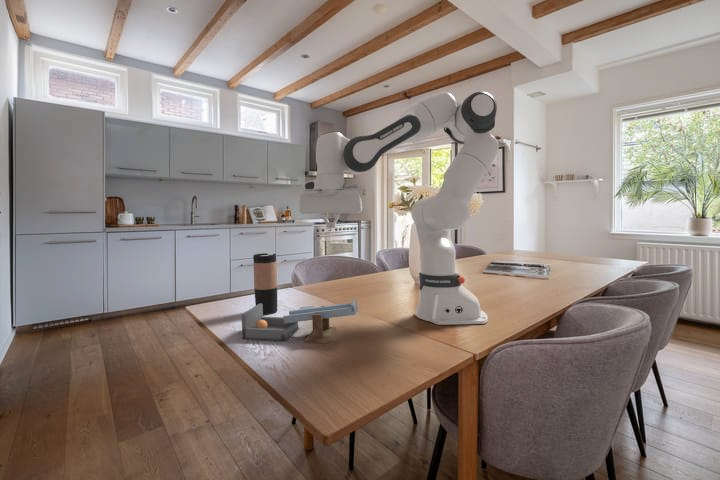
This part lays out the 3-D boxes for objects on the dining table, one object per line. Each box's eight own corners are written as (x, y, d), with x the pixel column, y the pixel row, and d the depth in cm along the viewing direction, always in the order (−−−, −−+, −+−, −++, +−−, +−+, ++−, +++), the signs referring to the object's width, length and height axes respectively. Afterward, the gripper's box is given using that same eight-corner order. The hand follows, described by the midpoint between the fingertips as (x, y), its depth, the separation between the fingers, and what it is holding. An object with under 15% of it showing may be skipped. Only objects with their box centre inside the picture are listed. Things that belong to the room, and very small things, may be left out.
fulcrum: (336, 329, 101) (335, 305, 101) (327, 343, 91) (326, 316, 90) (316, 328, 102) (315, 304, 102) (305, 342, 92) (304, 315, 91)
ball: (256, 323, 101) (264, 331, 101) (251, 327, 98) (260, 335, 98) (263, 316, 101) (271, 323, 100) (258, 319, 97) (266, 326, 97)
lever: (361, 302, 104) (360, 293, 104) (354, 314, 92) (353, 304, 92) (298, 310, 107) (297, 301, 107) (284, 323, 95) (282, 313, 95)
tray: (298, 327, 103) (297, 304, 103) (284, 341, 93) (283, 315, 92) (260, 326, 105) (259, 303, 105) (242, 339, 94) (241, 314, 94)
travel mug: (257, 316, 115) (255, 256, 113) (253, 310, 122) (251, 254, 120) (280, 313, 119) (278, 254, 117) (275, 307, 125) (273, 252, 124)
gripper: (364, 184, 112) (364, 227, 114) (303, 185, 116) (304, 227, 117) (361, 183, 106) (361, 228, 107) (296, 184, 109) (298, 228, 110)
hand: (331, 227), depth 112 cm, fingers closed
